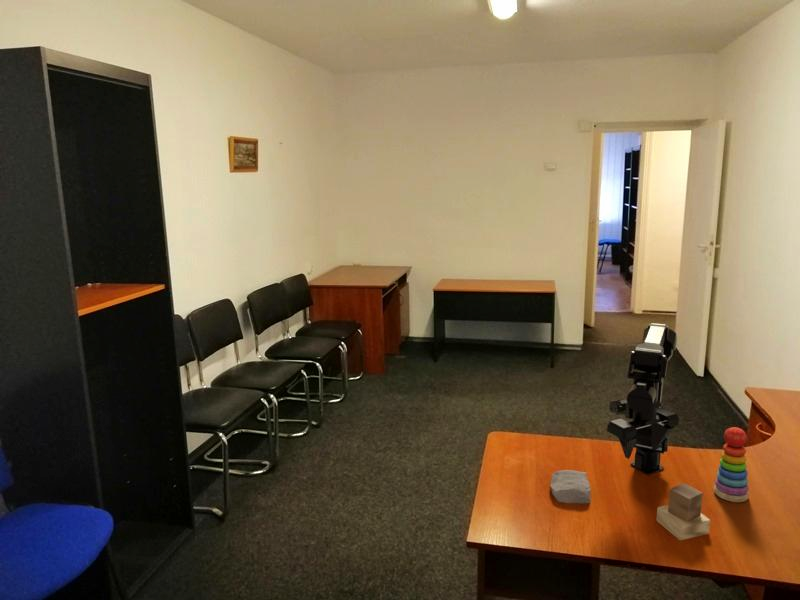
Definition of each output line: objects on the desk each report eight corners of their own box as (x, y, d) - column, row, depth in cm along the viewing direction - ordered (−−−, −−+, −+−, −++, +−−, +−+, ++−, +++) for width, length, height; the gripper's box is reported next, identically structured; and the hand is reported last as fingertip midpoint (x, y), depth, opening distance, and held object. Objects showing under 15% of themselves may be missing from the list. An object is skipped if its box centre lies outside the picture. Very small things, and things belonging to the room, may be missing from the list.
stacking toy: (746, 490, 154) (754, 424, 149) (749, 506, 147) (758, 438, 142) (712, 484, 157) (719, 419, 152) (714, 500, 150) (721, 433, 145)
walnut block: (681, 505, 142) (683, 483, 140) (700, 515, 138) (702, 492, 136) (667, 511, 139) (669, 489, 138) (687, 522, 135) (689, 499, 134)
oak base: (684, 515, 144) (685, 501, 143) (708, 535, 137) (710, 519, 136) (656, 521, 142) (657, 507, 141) (679, 541, 135) (681, 526, 134)
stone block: (554, 509, 151) (594, 504, 149) (551, 492, 150) (591, 487, 148) (550, 486, 163) (587, 481, 161) (547, 470, 162) (584, 465, 160)
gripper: (647, 379, 156) (643, 433, 160) (593, 392, 149) (590, 448, 152) (682, 394, 146) (677, 450, 150) (626, 408, 139) (622, 468, 142)
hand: (640, 453), depth 149 cm, fingers open, 9 cm apart
